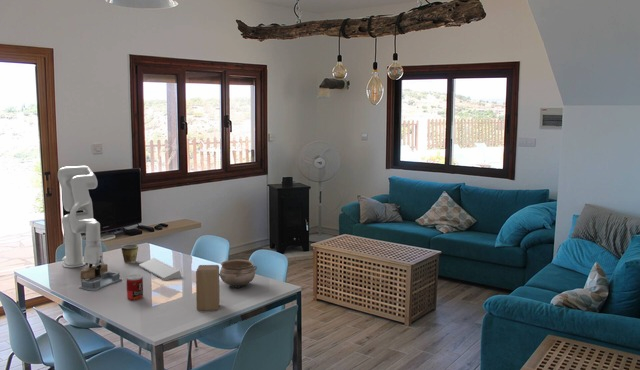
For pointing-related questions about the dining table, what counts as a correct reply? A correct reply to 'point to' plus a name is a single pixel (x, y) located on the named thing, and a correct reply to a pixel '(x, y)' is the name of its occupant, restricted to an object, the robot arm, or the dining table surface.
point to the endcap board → (101, 281)
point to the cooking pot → (237, 272)
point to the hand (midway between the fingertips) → (94, 274)
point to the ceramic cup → (129, 253)
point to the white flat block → (160, 269)
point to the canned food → (134, 287)
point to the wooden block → (207, 287)
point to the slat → (92, 272)
